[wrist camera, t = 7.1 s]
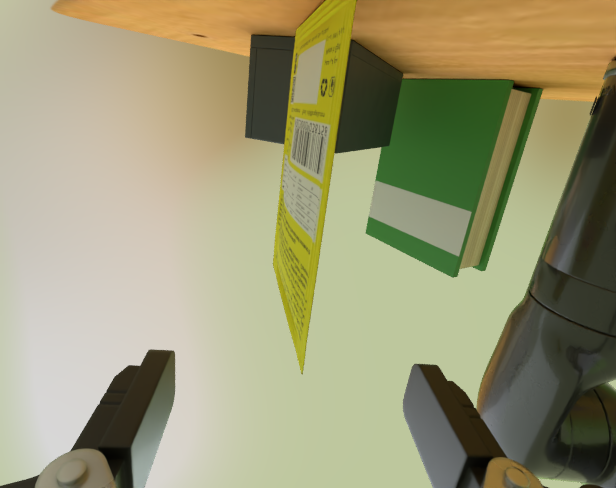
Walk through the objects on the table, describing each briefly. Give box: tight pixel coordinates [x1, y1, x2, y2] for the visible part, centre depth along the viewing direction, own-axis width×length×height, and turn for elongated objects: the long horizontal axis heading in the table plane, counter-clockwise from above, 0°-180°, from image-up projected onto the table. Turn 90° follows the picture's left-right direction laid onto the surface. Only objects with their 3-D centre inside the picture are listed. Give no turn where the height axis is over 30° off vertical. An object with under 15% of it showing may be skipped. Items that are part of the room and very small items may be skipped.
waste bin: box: [245, 35, 403, 153], centre depth 41 cm, size 10×20×9 cm, turn 25°
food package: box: [273, 0, 357, 374], centre depth 25 cm, size 15×1×20 cm, turn 168°
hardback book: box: [366, 79, 543, 277], centre depth 53 cm, size 18×7×24 cm, turn 147°
